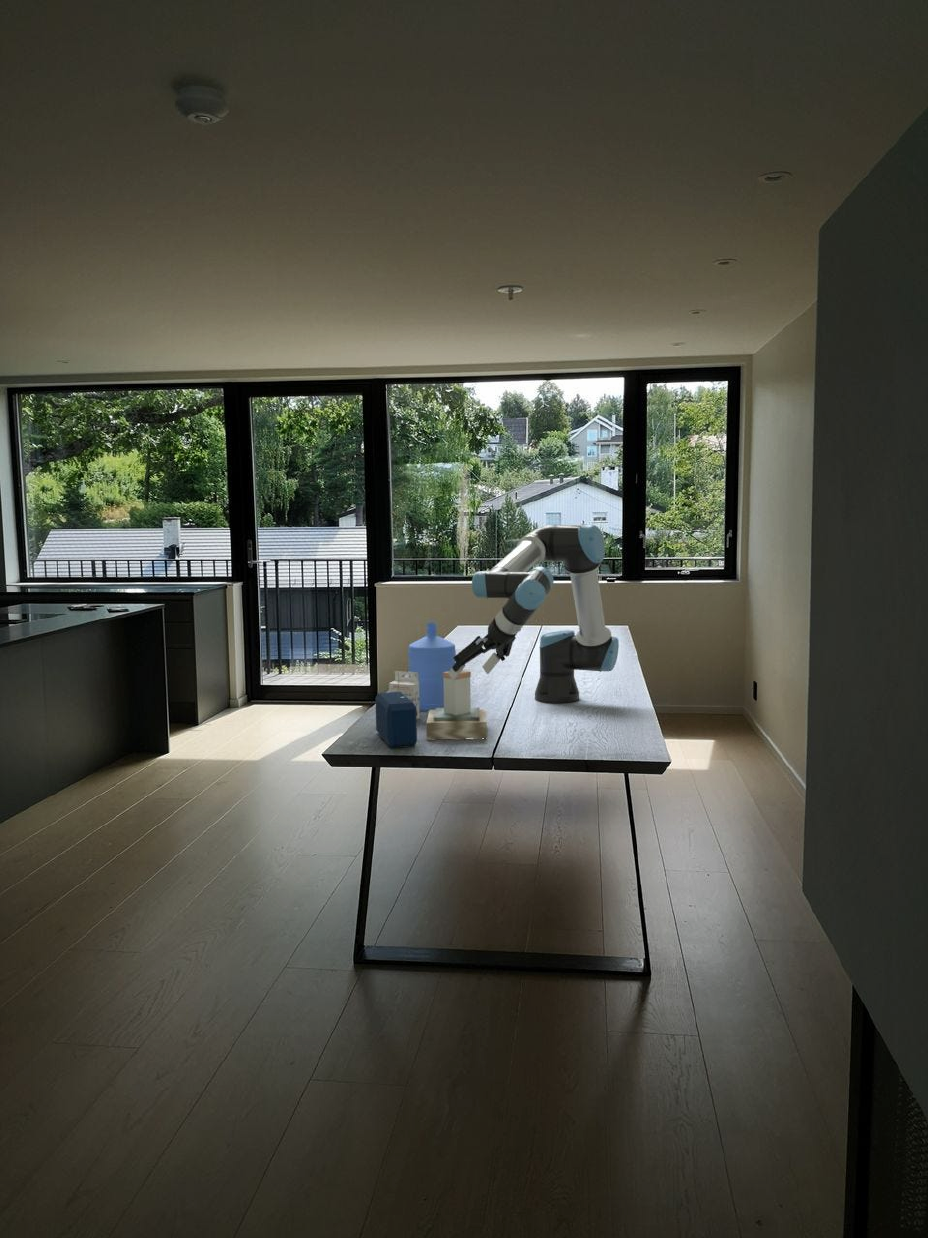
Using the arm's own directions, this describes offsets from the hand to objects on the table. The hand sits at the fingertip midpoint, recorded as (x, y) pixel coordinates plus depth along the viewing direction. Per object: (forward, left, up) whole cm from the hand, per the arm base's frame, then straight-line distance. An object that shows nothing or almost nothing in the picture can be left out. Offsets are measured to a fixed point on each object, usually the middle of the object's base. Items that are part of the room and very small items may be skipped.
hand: (468, 673), depth 263 cm
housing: (+3, -4, -12) cm, 13 cm away
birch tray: (+4, -4, -18) cm, 19 cm away
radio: (+21, +4, -19) cm, 28 cm away
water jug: (+13, -39, -19) cm, 45 cm away
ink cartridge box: (+21, -22, -19) cm, 36 cm away
